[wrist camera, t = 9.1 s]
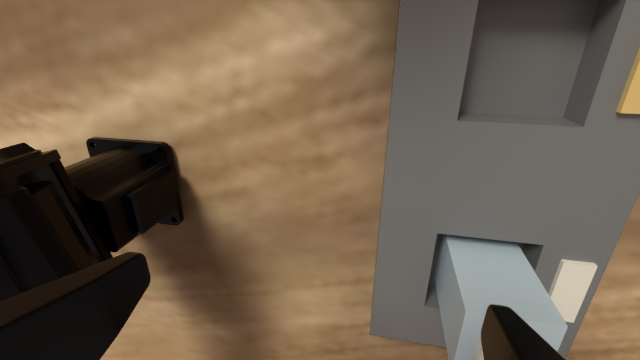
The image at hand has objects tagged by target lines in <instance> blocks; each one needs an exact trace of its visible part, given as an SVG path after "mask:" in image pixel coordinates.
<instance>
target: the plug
mask: <svg viewBox="0 0 640 360" xmlns="http://www.w3.org/2000/svg"><path fill="white" fill-rule="evenodd" d="M434 279H435V285H436V291H437V297H438V303H439V308H440V314H441V320H442V326H443V331H444V337H445V343H446V349H447V354H448V360H484V357H483V350H482V344H481V328H482V325H483V321H484V318H485V314H486V311H487V308H488V306H489V305H491V304H495V305H502V306H507V307H510V308H511V309H512V310H513V311H514V312H516V313H517V314H518V315H519V316H520V317H521V318H522V319H523V320H524V321H525V322H526V323H527V324H528V325H529V326H530V327H531V328H533V329H534V330H535V331H536V332H537V333H538V334H539V335H540V336H541V337H542V338H543V339H544V340H545V341H546V342H547V343H548V344H550V345H551V346H552V347H553V348H554V349H555V350H556V351H557V352H558V349H559V347H560V345H561V342H562V340H563V337H564V335H565V333H566V330H567V328H568V326H567V324H566V322H565V321H564V319H563V317H562V316H561V314H560V313H559V311H558V309H557V308H556V306H555V304H554V303H553V301H552V299H551V298H550V296H549V294H548V293H547V291H546V290H545V288H544V286H543V285H542V283H541V281H540V280H539V278H538V276H537V275H536V273H535V271H534V270H533V268H532V267H531V265H530V263H529V262H528V260H527V258H526V257H525V255H524V253H523V252H522V250H521V248H520V247H519V245H518V244H517V242H510V241H501V240H492V239H483V238H474V237H465V236H456V235H447V234H442V238H441V244H440V249H439V255H438V260H437V266H436V271H435V277H434Z"/></svg>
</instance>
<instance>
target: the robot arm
mask: <svg viewBox="0 0 640 360" xmlns="http://www.w3.org/2000/svg"><path fill="white" fill-rule="evenodd" d="M86 144H87V148H88V151H89V155H90V158H87V159H85V160H82V161H79V162H77V163H74V164H72V165H69V166H67V167H63V165H62V163H61V161H60V159H61V157H60V155H59V153H58V151H57V150H56V149H55V150H51V151H46V152H41V150H35V149H33V148H32V147H30V146H29V145H27V144H25V143H20V144H16V145H13V146H9V147H6V148H2V149H0V360H100V359H101V357H102V356H103V355H104V353H105V352H106V350H107V349H108V348H109V346H110V345H111V344H112V342H113V341H114V340H115V338H116V337H117V335H118V334H119V332H120V331H121V329H122V328H123V326H124V324H125V323H126V321H127V320H128V318H129V316H130V315H131V313H132V312H133V310H134V308H135V307H136V305H137V304H138V302H139V300H140V299H141V297H142V295H143V294H144V292H145V291H146V289H147V287H148V286H149V283H150V273H149V269H148V265H147V261H146V258H145V256H144V255H143V254H141V253H135V252H127V253H124V254H122V255H119V256H116V257H114V258H113V256H112V255H111V253H110V252H117V251H118V250H120V249H121V248H122V247H124V246H125V245H126V244H127V243H129V242H130V241H131V240H133V239H134V238H135V237H137V236H138V235H139V234H144V233H145V232H147V231H148V230H149V229H150V228H152V227H153V226H154V225H155V224H157V223H160V224H168V225H179V224H180V223H181V222H182V221H183V214H182V208H181V202H180V197H179V192H178V186H177V181H176V176H175V171H174V166H173V160H172V155H171V150H170V147H169V145H168V144H166V143H165V142H156V141H142V140H128V139H114V138H100V137H93V138H90V139H88V140H87V142H86ZM95 145H96V146H95ZM161 148H162V149H163V150H164V152H163V151H162V150H161ZM175 218H177V220H176V219H175ZM481 344H482V350H483V357H484V360H565V359H564V358H563V357H562V356H561V355H560V354H559V353H558V352H557V351H556V350H555V349H554V348H553V347H552V346H551V345H550V344H548V343H547V342H546V341H545V340H544V339H543V338H542V337H541V336H540V335H539V334H538V333H537V332H536V331H535V330H534V329H533V328H531V327H530V326H529V325H528V324H527V323H526V322H525V321H524V320H523V319H522V318H521V317H520V316H519V315H518V314H517V313H516V312H514V311H513V310H512V309H511V308H510V307H507V306H502V305H495V304H491V305H489V306H488V308H487V311H486V314H485V318H484V321H483V325H482V328H481Z"/></svg>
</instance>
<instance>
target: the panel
mask: <svg viewBox="0 0 640 360" xmlns="http://www.w3.org/2000/svg"><path fill="white" fill-rule="evenodd" d="M639 192H640V0H400V6H399V16H398V27H397V38H396V49H395V60H394V71H393V82H392V93H391V104H390V115H389V126H388V136H387V147H386V158H385V169H384V180H383V191H382V202H381V213H380V224H379V235H378V245H377V256H376V267H375V278H374V289H373V300H372V311H371V324H370V335H374V336H380V337H386V338H392V339H397V340H403V341H409V342H415V343H421V344H427V345H432V346H438V347H444V348H446V343H445V337H444V331H443V326H442V320H441V314H440V308H439V303H438V297H437V291H436V285H435V279H434V277H435V271H436V266H437V260H438V255H439V249H440V244H441V238H442V234H447V235H456V236H465V237H474V238H483V239H492V240H501V241H510V242H517V244H518V245H519V247H520V248H521V250H522V252H523V253H524V255H525V257H526V258H527V260H528V262H529V263H530V265H531V267H532V268H533V270H534V271H535V273H536V275H537V276H538V278H539V280H540V281H541V283H542V285H543V286H544V288H545V290H546V291H547V293H548V294H549V296H550V298H551V299H552V301H553V303H554V304H555V306H556V308H557V309H558V311H559V313H560V314H561V316H562V317H563V319H564V321H565V322H566V324H567V326H568V328H567V330H566V333H565V335H564V337H563V340H562V342H561V345H560V347H559V349H558V353H559V354H560V355H561V356H562V357H563V358H564V359H566V357H567V354H568V352H569V350H570V348H571V345H572V343H573V341H574V339H575V336H576V334H577V332H578V330H579V327H580V325H581V323H582V321H583V318H584V316H585V314H586V312H587V309H588V307H589V305H590V303H591V300H592V298H593V296H594V294H595V291H596V289H597V287H598V285H599V282H600V280H601V278H602V276H603V273H604V271H605V269H606V266H607V264H608V262H609V260H610V257H611V255H612V253H613V251H614V248H615V246H616V244H617V242H618V239H619V237H620V235H621V233H622V230H623V228H624V226H625V224H626V221H627V219H628V217H629V215H630V212H631V210H632V208H633V206H634V203H635V201H636V199H637V197H638V194H639Z"/></svg>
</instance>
